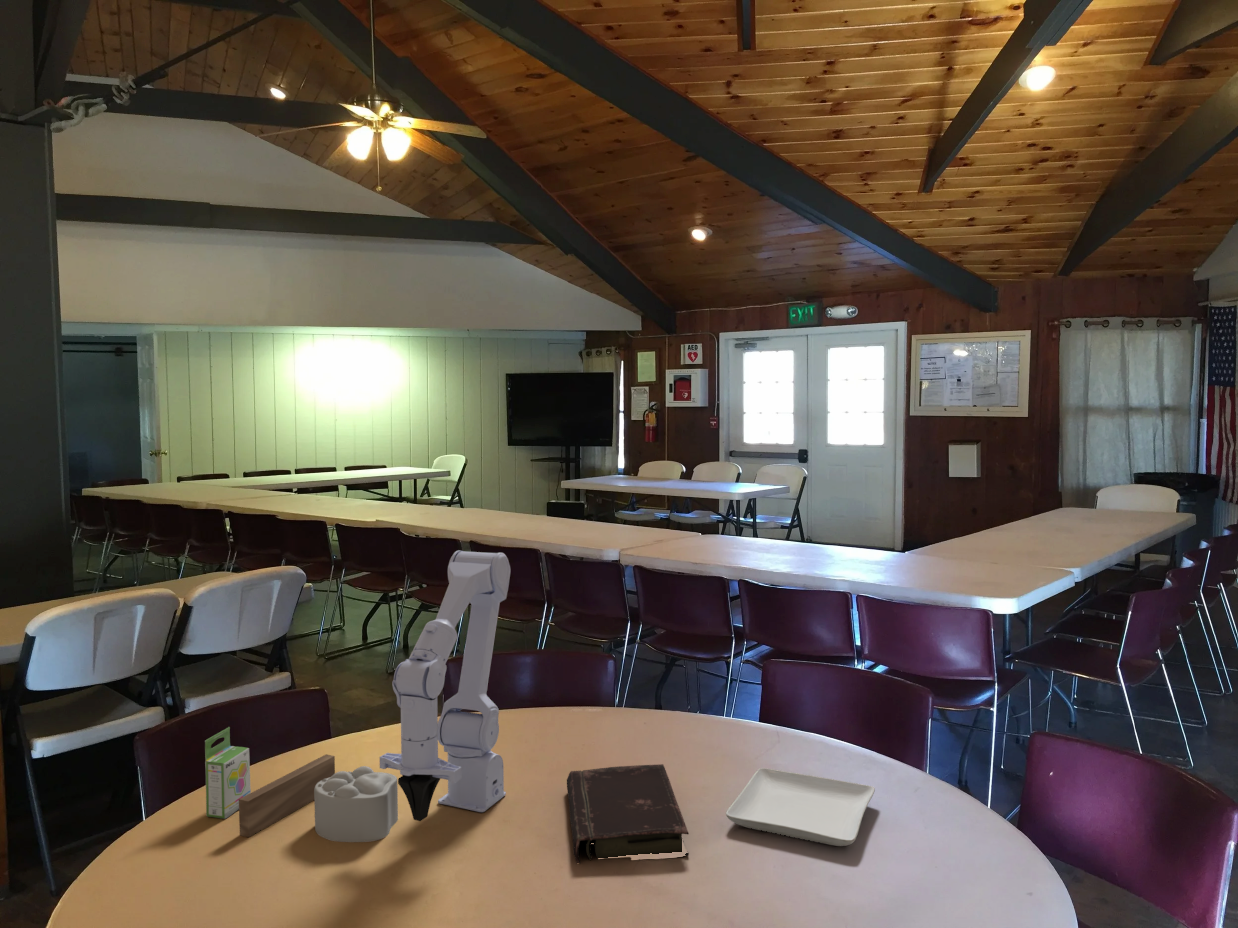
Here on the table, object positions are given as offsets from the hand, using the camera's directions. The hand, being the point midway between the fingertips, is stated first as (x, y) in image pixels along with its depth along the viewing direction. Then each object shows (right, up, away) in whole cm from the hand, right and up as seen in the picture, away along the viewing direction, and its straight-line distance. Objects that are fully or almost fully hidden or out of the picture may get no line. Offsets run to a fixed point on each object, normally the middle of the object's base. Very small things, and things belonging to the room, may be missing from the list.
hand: (420, 817), depth 137 cm
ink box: (-36, -4, +12) cm, 38 cm away
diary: (+33, -4, +7) cm, 34 cm away
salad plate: (+63, -4, +9) cm, 64 cm away
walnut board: (-25, -3, +11) cm, 28 cm away
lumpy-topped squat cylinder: (-12, -4, +6) cm, 14 cm away
